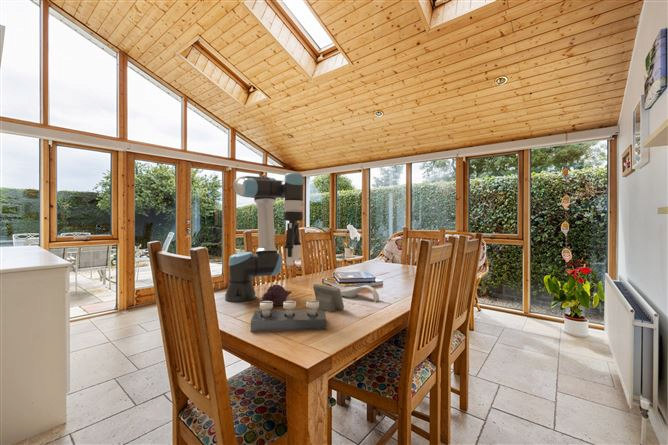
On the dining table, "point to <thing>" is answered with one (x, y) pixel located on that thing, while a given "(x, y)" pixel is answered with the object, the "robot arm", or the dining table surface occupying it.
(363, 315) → the dining table surface
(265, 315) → the left knob
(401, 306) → the dining table surface
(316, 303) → the right knob
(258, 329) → the knob plate
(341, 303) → the digital clock
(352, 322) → the dining table surface
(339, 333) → the dining table surface
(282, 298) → the pine cone
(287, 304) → the middle knob
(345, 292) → the grey curved piece
